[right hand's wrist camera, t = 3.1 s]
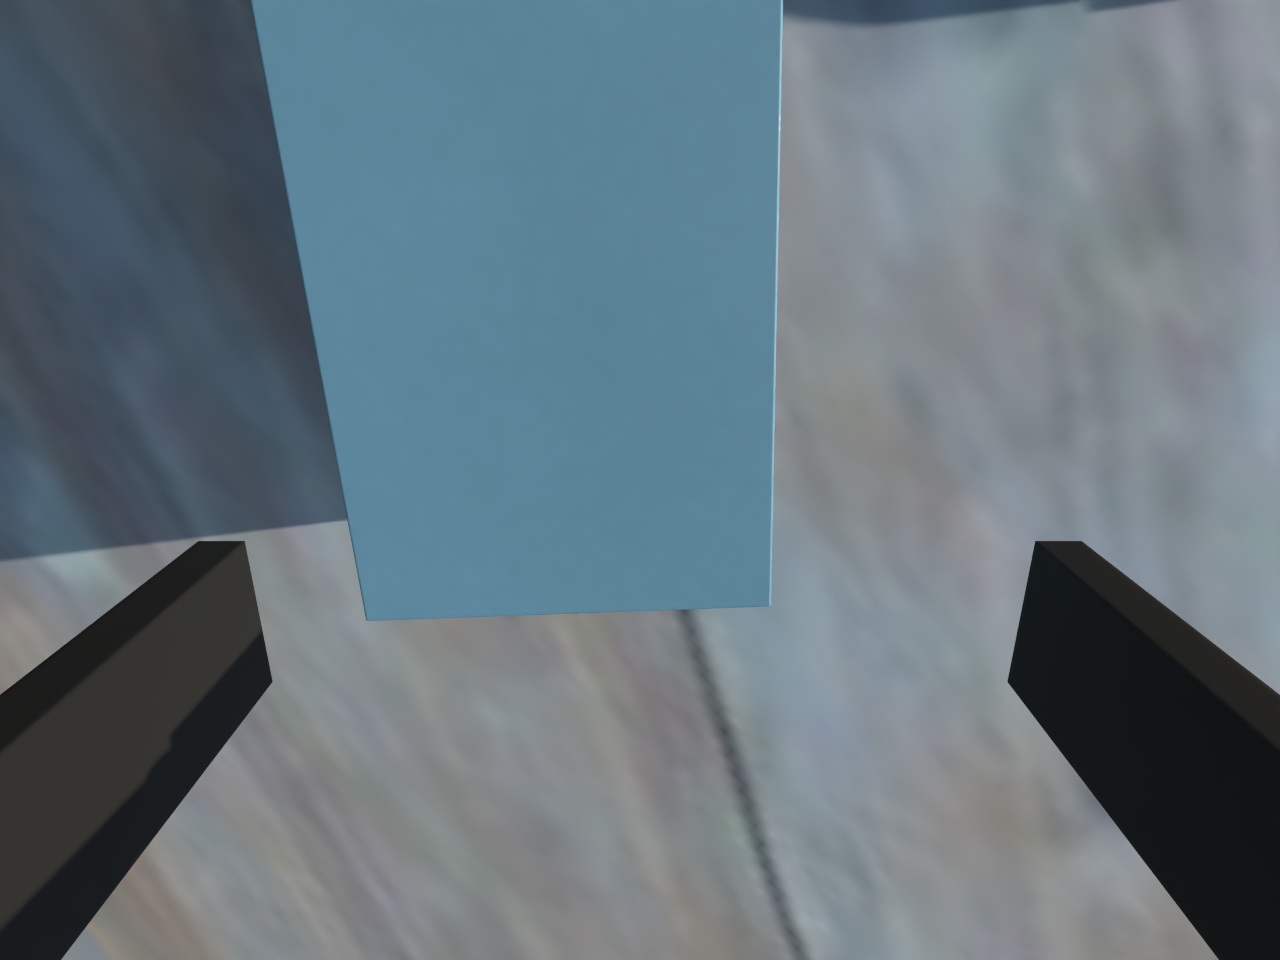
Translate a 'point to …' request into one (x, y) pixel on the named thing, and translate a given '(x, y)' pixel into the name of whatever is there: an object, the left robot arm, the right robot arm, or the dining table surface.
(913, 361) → the dining table surface
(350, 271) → the cabinet
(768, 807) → the dining table surface
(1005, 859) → the dining table surface
